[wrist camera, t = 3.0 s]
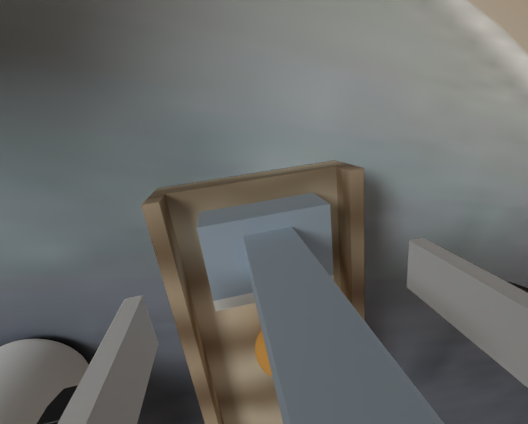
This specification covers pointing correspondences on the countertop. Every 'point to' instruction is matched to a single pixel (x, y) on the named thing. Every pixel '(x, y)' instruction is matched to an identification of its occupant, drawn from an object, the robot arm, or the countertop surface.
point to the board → (246, 317)
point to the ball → (262, 354)
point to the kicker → (305, 314)
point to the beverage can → (35, 377)
